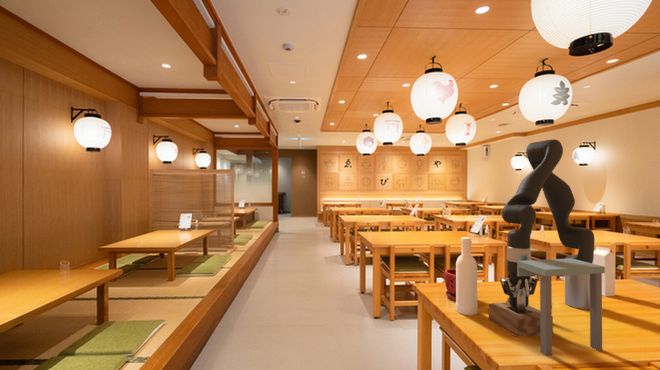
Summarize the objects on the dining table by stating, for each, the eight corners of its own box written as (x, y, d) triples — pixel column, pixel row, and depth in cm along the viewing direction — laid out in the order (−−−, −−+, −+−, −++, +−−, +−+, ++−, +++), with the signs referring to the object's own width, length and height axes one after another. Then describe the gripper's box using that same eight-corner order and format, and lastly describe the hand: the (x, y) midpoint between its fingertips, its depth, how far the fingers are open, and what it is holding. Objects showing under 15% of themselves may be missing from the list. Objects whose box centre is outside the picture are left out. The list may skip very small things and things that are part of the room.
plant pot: (466, 306, 129) (466, 278, 129) (439, 297, 140) (438, 271, 140) (481, 299, 137) (481, 272, 137) (454, 291, 148) (454, 266, 148)
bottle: (476, 317, 118) (475, 240, 118) (454, 312, 122) (454, 238, 123) (478, 310, 125) (478, 237, 125) (457, 306, 129) (457, 235, 129)
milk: (601, 291, 147) (601, 245, 148) (615, 295, 141) (615, 248, 142) (591, 292, 146) (591, 246, 146) (605, 296, 140) (605, 248, 140)
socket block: (521, 316, 119) (521, 301, 119) (552, 333, 105) (552, 316, 105) (488, 319, 116) (488, 303, 116) (516, 337, 103) (516, 319, 103)
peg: (519, 312, 113) (519, 285, 113) (528, 317, 109) (528, 289, 109) (510, 313, 112) (510, 286, 112) (518, 318, 108) (518, 290, 108)
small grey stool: (571, 333, 105) (571, 258, 105) (605, 350, 94) (604, 266, 94) (517, 338, 102) (517, 260, 102) (546, 356, 91) (545, 269, 91)
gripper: (527, 256, 116) (527, 301, 116) (494, 257, 113) (494, 303, 113) (544, 261, 108) (544, 309, 108) (509, 262, 106) (509, 312, 106)
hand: (519, 306), depth 111 cm, fingers closed on peg, 4 cm apart
